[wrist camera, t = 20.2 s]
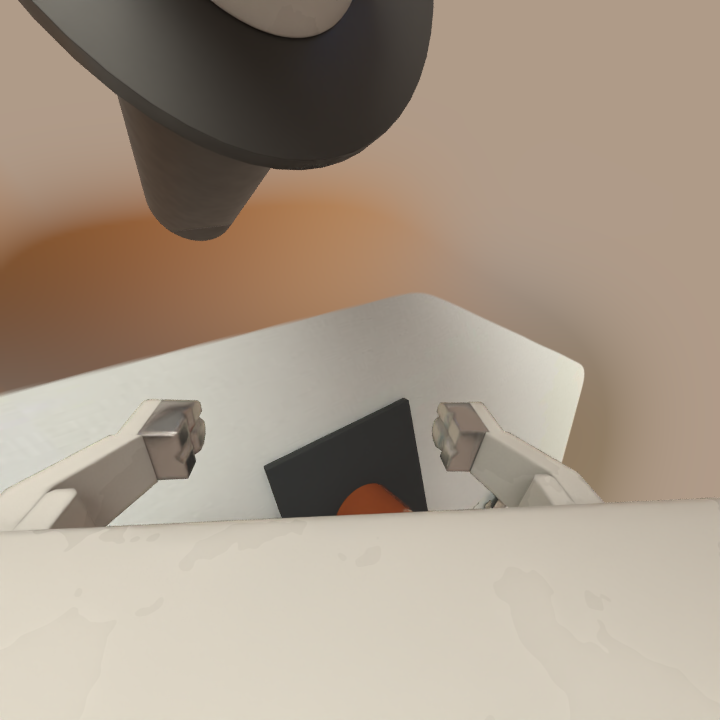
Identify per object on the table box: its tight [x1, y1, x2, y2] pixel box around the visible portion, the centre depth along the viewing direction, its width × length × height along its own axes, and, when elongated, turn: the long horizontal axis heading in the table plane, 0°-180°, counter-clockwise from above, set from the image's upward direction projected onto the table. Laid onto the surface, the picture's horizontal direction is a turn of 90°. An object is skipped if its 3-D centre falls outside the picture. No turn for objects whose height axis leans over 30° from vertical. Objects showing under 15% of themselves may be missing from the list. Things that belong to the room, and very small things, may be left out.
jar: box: [336, 483, 414, 516], centre depth 24 cm, size 6×6×11 cm
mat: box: [264, 398, 428, 518], centre depth 29 cm, size 18×14×1 cm
